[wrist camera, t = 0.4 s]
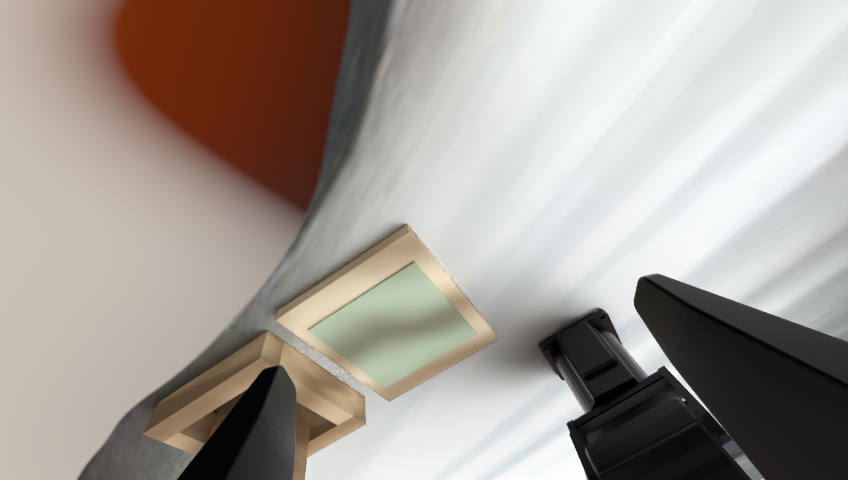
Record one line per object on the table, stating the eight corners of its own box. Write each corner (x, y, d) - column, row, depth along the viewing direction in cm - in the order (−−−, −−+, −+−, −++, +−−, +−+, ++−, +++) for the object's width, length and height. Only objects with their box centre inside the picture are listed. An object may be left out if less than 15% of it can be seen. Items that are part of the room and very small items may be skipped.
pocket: (364, 397, 31) (365, 424, 29) (269, 452, 33) (264, 481, 31) (267, 330, 25) (259, 358, 23) (158, 402, 27) (142, 434, 25)
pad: (493, 330, 29) (498, 341, 28) (388, 391, 31) (389, 403, 30) (407, 224, 22) (409, 233, 21) (278, 310, 24) (274, 322, 23)
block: (313, 397, 30) (301, 506, 23) (269, 424, 31) (245, 536, 24) (268, 370, 27) (240, 483, 20) (221, 399, 28) (180, 517, 21)
